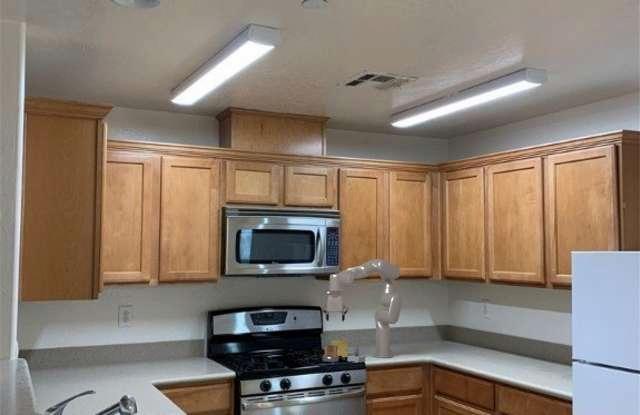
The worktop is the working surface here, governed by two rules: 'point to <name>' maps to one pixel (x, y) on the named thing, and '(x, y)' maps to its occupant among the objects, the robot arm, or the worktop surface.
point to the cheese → (341, 347)
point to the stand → (356, 356)
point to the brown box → (330, 351)
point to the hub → (330, 359)
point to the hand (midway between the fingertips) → (335, 321)
